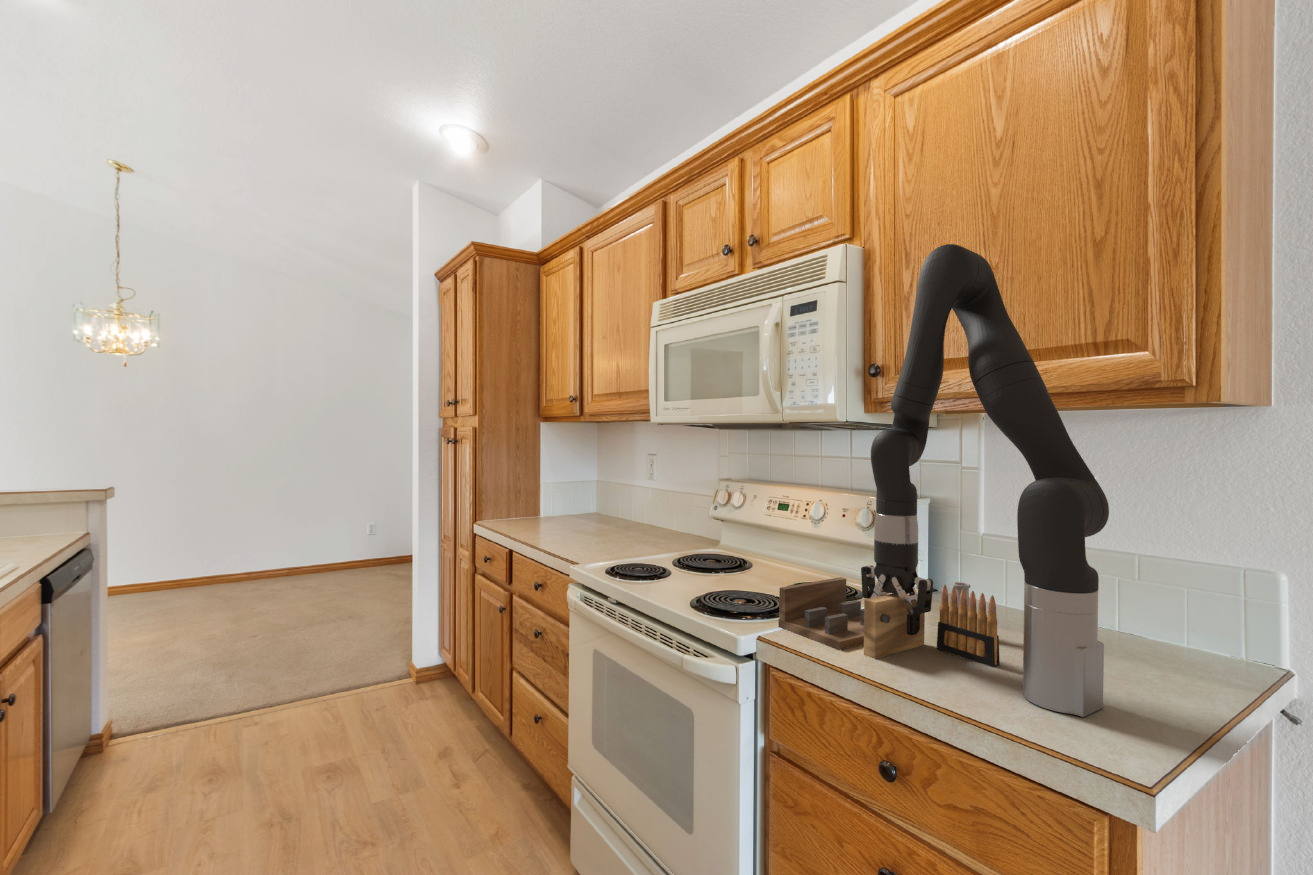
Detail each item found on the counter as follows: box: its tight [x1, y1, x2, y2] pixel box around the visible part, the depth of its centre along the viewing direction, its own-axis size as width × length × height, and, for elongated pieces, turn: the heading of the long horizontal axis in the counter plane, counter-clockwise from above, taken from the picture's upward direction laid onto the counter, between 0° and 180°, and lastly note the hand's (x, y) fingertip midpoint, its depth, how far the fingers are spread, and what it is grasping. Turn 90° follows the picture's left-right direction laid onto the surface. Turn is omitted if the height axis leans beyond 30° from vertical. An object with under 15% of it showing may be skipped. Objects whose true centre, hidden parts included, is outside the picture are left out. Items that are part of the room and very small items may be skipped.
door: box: [863, 589, 926, 660], centre depth 114 cm, size 3×14×10 cm, turn 122°
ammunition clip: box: [936, 584, 1001, 668], centre depth 111 cm, size 11×2×12 cm, turn 33°
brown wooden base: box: [777, 576, 864, 651], centre depth 126 cm, size 16×18×8 cm
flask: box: [952, 581, 972, 611], centre depth 124 cm, size 7×7×10 cm
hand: (894, 628), depth 115 cm, fingers open, 6 cm apart
